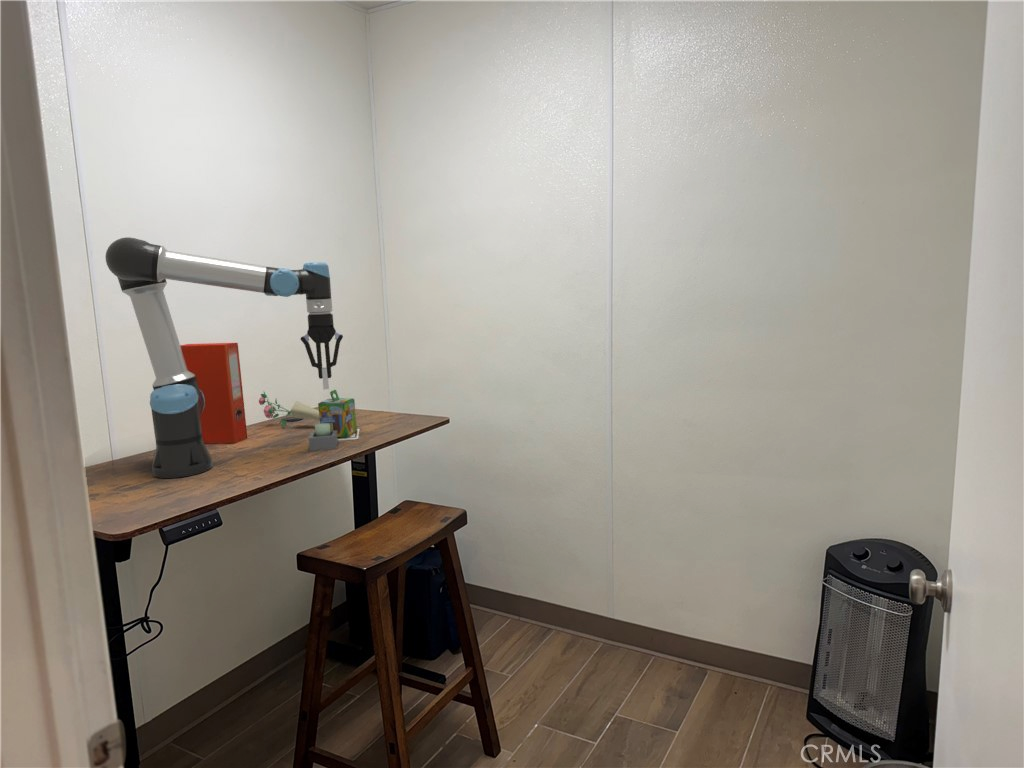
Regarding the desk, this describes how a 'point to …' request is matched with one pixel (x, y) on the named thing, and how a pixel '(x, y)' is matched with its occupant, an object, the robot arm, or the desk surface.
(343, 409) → the chalk box
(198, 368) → the file binder
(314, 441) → the button housing
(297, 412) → the flower vase
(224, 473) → the desk surface
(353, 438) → the white bordered panel
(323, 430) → the button
